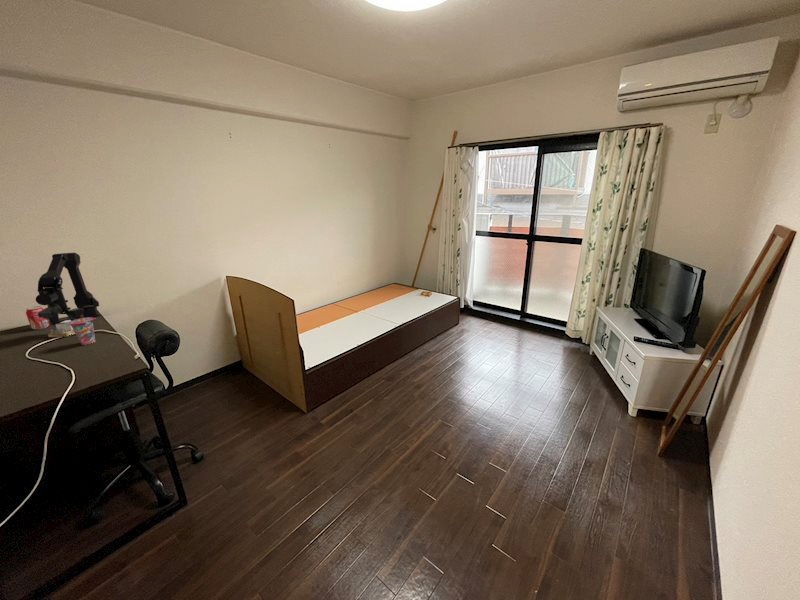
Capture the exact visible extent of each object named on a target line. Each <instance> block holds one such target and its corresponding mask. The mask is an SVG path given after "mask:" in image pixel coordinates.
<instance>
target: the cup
mask: <svg viewBox="0 0 800 600" xmlns="http://www.w3.org/2000/svg"><path fill="white" fill-rule="evenodd" d="M96 319H97V317H94V318H93V317H87V318H83V317H80V319H75V320H72V321H70V322H69V324H70V325H71V326H72V328H73V330H74V332H75V334H74V335H75V336H76V338H77V339H78V341H79V343H80V345H81V346H87V344H88V345H91V343H92V344H94V343H96V336H95V328H94V323H93V321H94V320H96ZM93 342H94V343H93Z"/></svg>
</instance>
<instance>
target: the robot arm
mask: <svg viewBox="0 0 800 600" xmlns="http://www.w3.org/2000/svg"><path fill="white" fill-rule="evenodd" d="M51 258H52V259H51V261H50V264H49V267H48V268H47V271H46V272H44V273H43V274H41V276H40V277H39V279H38V280H37V281H38V282H37V293H38V295H37V296H36V297H35V302H36V303H37V304H38V305H39V306H47V307H45V308H43V309H44V310H42V311H40V312H39V313H38V315H39V317H43V319H47V320H48V321H49V323H51V324H52V325H53V326H54V328H56V325H55V324H57V323H60V317H59V315H66V316H67V318H68V320H71V321H72V320H75V319H80V318H81V316H82V318H87V317H93V318H97V317H99V316H102V313H99V311H98V308H97V307H100V303H99V302H100V301H98V299H96V298H95V297H94V295H93V294H92V293H91V292H90V291H88V289H87V287H86V284H85V281H84V278H83V275H82V273H81V270H80V268H79V266H80V265H81V256H80V255H79V254H78V253H77V252H63V253H62V252H61V253H54V254H52V255H51ZM64 268H65V269H66V270H67V272H68V276H69V278H70V281H71V283H72V285H73V288H74V291H75V295H74V296H73V298H72V300H74V301H73V302H74V304H75V308H71V307H70V306H69V307H68V305H67V303H69V300H68V299H65V295H64V293H63V290H64V287H62V285H63V278H62V277H61V274H62V273H63V272H62V271H63V269H64Z"/></svg>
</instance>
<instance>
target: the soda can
mask: <svg viewBox="0 0 800 600" xmlns="http://www.w3.org/2000/svg"><path fill="white" fill-rule="evenodd" d="M44 309H45V308H43V307H42V305H38V306H32V307H31V306H30V307H27V308H25V315H26V317H27V320H28V322H29V325H30V327H31V329H32V330H43V329H47V328H48V327H50V321H49V320H47V319H43V317H39V315H38V313H39V312H40V311H42V310H44Z"/></svg>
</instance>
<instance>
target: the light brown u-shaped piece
mask: <svg viewBox="0 0 800 600" xmlns="http://www.w3.org/2000/svg"><path fill="white" fill-rule="evenodd" d="M60 330H61V332H59V330H58V329H57V328H56V329H55V330H54V329H53V328H51V329H50V332H49V333H47V336H48V338H60V337H61V338H62V337H63V336H64V337H70V336H72V335H74V334H73V333H75V332H74V330H71V331H69V332H64V331H63V329H60ZM71 334H72V335H71ZM69 335H70V336H69ZM64 337H63V338H64Z"/></svg>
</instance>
